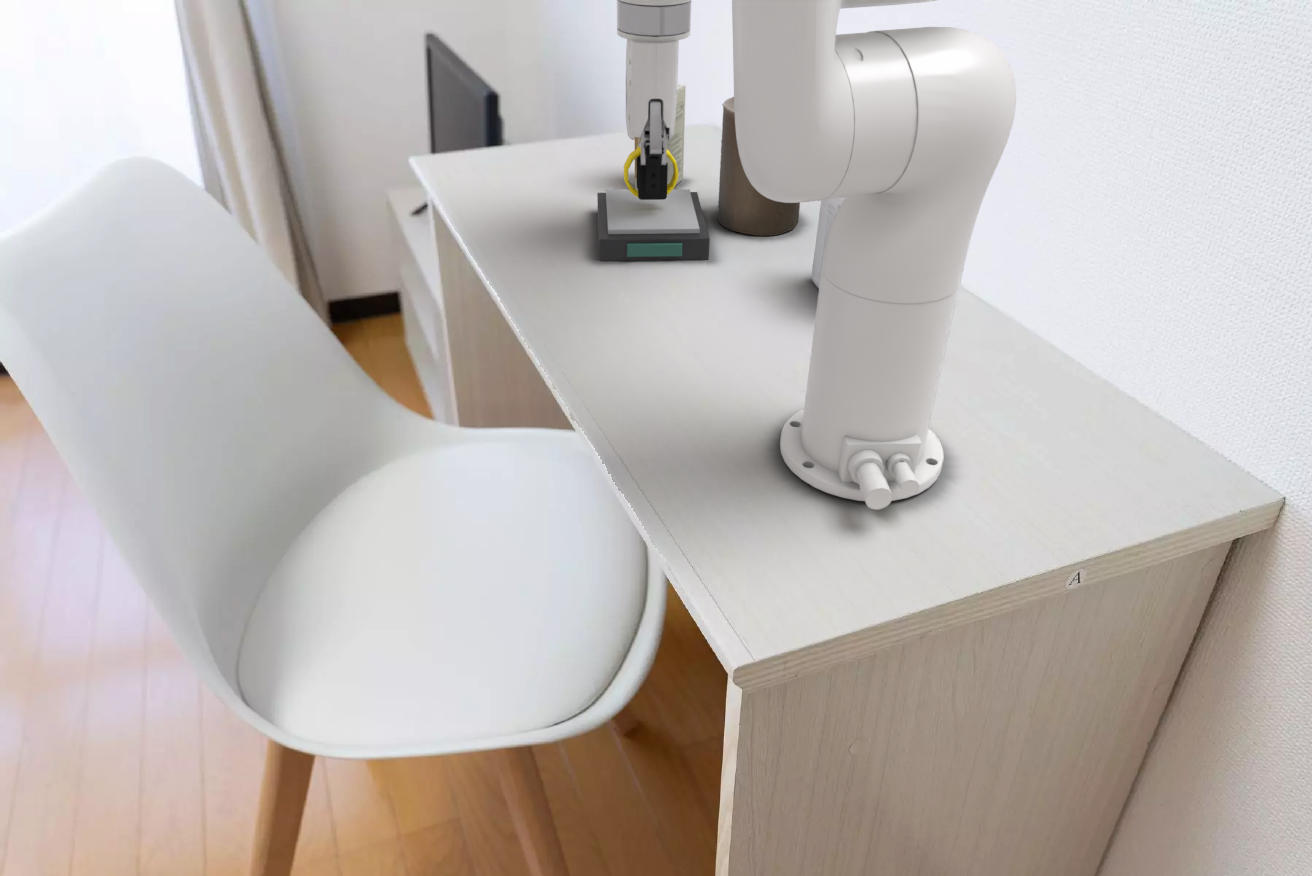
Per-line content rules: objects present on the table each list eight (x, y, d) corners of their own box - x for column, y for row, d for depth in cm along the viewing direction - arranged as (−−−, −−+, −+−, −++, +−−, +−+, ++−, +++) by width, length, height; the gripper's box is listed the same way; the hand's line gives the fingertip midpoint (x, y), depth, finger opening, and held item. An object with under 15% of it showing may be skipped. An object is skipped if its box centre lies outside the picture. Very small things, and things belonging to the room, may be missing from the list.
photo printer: (888, 319, 95) (909, 198, 88) (849, 324, 94) (867, 203, 87) (842, 275, 103) (858, 162, 96) (805, 280, 102) (818, 165, 95)
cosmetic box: (654, 174, 128) (656, 79, 121) (684, 180, 126) (687, 84, 119) (632, 190, 123) (632, 92, 116) (663, 196, 122) (665, 97, 115)
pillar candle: (807, 234, 112) (822, 103, 104) (725, 238, 111) (733, 106, 102) (785, 203, 120) (797, 79, 112) (708, 207, 119) (715, 81, 110)
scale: (709, 261, 106) (710, 234, 104) (599, 262, 105) (599, 235, 103) (696, 211, 118) (697, 186, 116) (597, 212, 117) (597, 187, 115)
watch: (675, 191, 110) (676, 139, 107) (679, 200, 108) (680, 147, 105) (623, 193, 110) (622, 141, 106) (625, 202, 107) (625, 149, 104)
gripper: (614, 3, 104) (616, 169, 115) (619, 36, 91) (620, 221, 102) (683, 3, 105) (678, 169, 115) (698, 37, 92) (691, 221, 102)
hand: (651, 192), depth 108 cm, fingers closed on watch, 2 cm apart
